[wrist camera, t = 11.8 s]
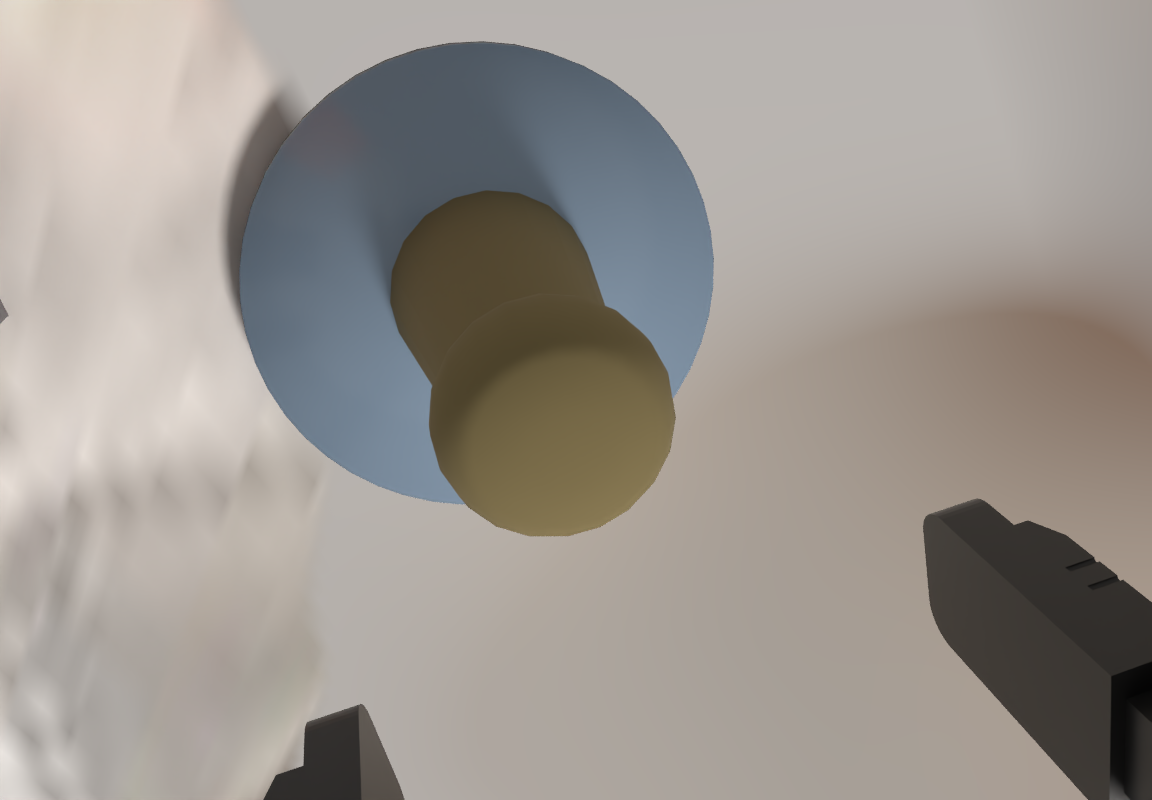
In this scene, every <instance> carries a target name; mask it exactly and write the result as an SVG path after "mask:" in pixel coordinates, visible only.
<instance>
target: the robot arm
mask: <svg viewBox="0 0 1152 800" xmlns="http://www.w3.org/2000/svg"><path fill="white" fill-rule="evenodd" d="M923 532H924V543H925V554H926V566H927V577H928V588H929V599H930V606H931V610H932V613H933V616H934V619H935V621H936V624H937V626H938V628H939V630H940V632H941V634H942V636H943V637H944V639H945V640H946V642H947V643H948V644H949V646H950V647H951V648H952V649H953V650H954V651H955V652H956V653H957V655H958V656H959V657H960V658H961V659H962V660H963V661H964V662H965V664H966V665H967V666H968V667H969V668H970V669H971V670H972V671H973V672H974V674H975V675H976V676H977V677H978V678H979V679H980V680H981V681H982V682H983V684H984V685H985V686H986V687H987V688H988V689H989V690H990V691H991V692H992V693H993V695H994V696H995V697H996V698H997V699H998V700H999V701H1000V702H1001V703H1002V705H1003V706H1004V707H1005V708H1006V709H1007V710H1008V711H1009V712H1010V714H1011V715H1012V716H1013V717H1014V718H1015V719H1016V720H1017V721H1018V722H1019V724H1020V725H1021V726H1022V727H1023V728H1024V729H1025V730H1026V731H1027V732H1028V734H1029V735H1030V736H1031V737H1032V738H1033V739H1034V740H1035V741H1036V742H1037V743H1038V745H1039V746H1040V747H1041V748H1042V749H1043V750H1044V751H1045V752H1046V754H1047V755H1048V756H1049V757H1050V758H1051V759H1052V760H1053V761H1054V762H1055V764H1056V765H1057V766H1058V767H1059V768H1060V769H1061V770H1062V771H1063V772H1064V773H1065V774H1066V776H1067V777H1068V778H1069V779H1070V780H1071V781H1072V782H1073V783H1074V785H1075V786H1076V787H1077V788H1078V789H1079V790H1080V791H1081V792H1082V793H1083V795H1084V796H1085V797H1086V798H1087V799H1088V800H1152V602H1151V601H1149V600H1148V599H1147V598H1145V597H1144V596H1143V595H1142V594H1140V593H1139V592H1138V591H1137V590H1135V589H1134V588H1133V587H1131V586H1130V585H1129V584H1128V583H1126V582H1125V581H1124V580H1122V581H1120V580H1119V579H1118V577H1117V575H1116V574H1115V573H1114V572H1112V571H1111V570H1110V569H1108V568H1107V567H1106V566H1105V565H1103V564H1102V563H1101V562H1096V561H1095V559H1094V557H1093V556H1092V555H1090V554H1089V553H1088V552H1087V551H1086V550H1084V549H1083V548H1082V547H1080V546H1079V545H1078V544H1076V543H1075V542H1074V541H1073V540H1072V539H1070V538H1069V537H1068V536H1066V535H1064V534H1061V533H1059V532H1056V531H1054V530H1051V529H1049V528H1046V527H1043V526H1041V525H1038V524H1036V523H1033V522H1030V521H1025V522H1022V523H1019V524H1016V525H1013V524H1012V523H1011V522H1010V521H1008V520H1007V519H1006V518H1005V517H1004V516H1002V515H1001V514H1000V513H999V512H997V511H996V510H995V509H994V508H992V506H990V505H989V504H988V503H986V502H985V501H983V500H981V499H974V500H971V501H967V502H965V503H962V504H959V505H956V506H953V507H950V508H947V509H944V510H941V511H938V512H935V513H932V514H929V515H927V516H926V518H925V519H924V525H923ZM264 800H404V797H403V794H402V791H401V788H400V785H399V783H398V780H397V778H396V776H395V773H394V771H393V769H392V767H391V764H390V762H389V759H388V757H387V755H386V752H385V750H384V748H383V746H382V743H381V741H380V739H379V736H378V734H377V732H376V729H375V727H374V725H373V722H372V720H371V718H370V716H369V713H368V711H367V710H366V708H365V707H364V705H362V704H360V705H357V706H354V707H351V708H348V709H345V710H342V711H339V712H336V713H333V714H330V715H327V716H324V717H321V718H318V719H315V720H312V721H309V722H307V724H306V727H305V739H304V766H302V767H299V768H296V769H293V770H290V771H287V772H284V773H281V774H278V775H276V776H275V778H274V780H273V782H272V784H271V786H270V788H269V790H268V792H267V794H266V796H265V798H264Z"/></svg>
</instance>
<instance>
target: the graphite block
mask: <svg viewBox="0 0 1152 800" xmlns="http://www.w3.org/2000/svg"><path fill="white" fill-rule="evenodd" d="M7 316H8V313H7V312H6V310H5V308H4V306H3V304H2V302H1V300H0V323H1V322H2V321H3V320H4V319H5V318H6V317H7Z"/></svg>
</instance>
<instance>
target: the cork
mask: <svg viewBox="0 0 1152 800" xmlns="http://www.w3.org/2000/svg"><path fill="white" fill-rule="evenodd" d="M390 304H391V307H392V311H393V314H394V318H395V321H396V325H397V328H398V332H399V334H400V335H401V337H402V338H403V340H404V342H405V343H406V345H407V346H408V348H409V350H410V351H411V353H412V354H413V356H414V358H415V359H416V361H417V362H418V364H419V366H420V367H421V369H422V370H423V372H424V373H425V375H426V377H427V378H428V380H429V381H430V383H431V385H432V388H431V398H430V412H429V431H430V437H431V441H432V444H433V447H434V451H435V454H436V458H437V461H438V465H439V468H440V471H441V472H442V474H443V475H444V477H445V478H446V479H447V481H448V482H449V483H450V485H451V486H452V488H453V489H454V490H455V492H456V493H457V494H458V496H459V497H460V498H461V500H462V501H463V502H464V503H465V504H466V505H467V506H468V507H469V508H470V509H472V510H473V511H475V512H476V513H477V514H479V515H480V516H482V517H483V518H485V519H486V520H488V521H489V522H491V523H492V524H494V525H495V526H496V527H500V528H504V529H507V530H510V531H513V532H517V533H520V534H524V535H527V536H570V535H574V534H577V533H581V532H584V531H588V530H591V529H595V528H598V527H601V526H603V525H604V524H606V523H607V522H609V521H611V520H613V519H614V518H616V517H617V516H619V515H621V514H622V513H624V512H625V511H627V510H629V509H630V508H631V506H632V505H633V504H634V503H635V502H636V501H637V500H638V499H639V498H640V497H641V496H642V495H643V494H644V493H645V492H646V490H647V489H648V488H649V487H650V486H651V485H652V484H653V483H654V481H655V480H656V478H657V476H658V474H659V472H660V470H661V468H662V466H663V464H664V462H665V460H666V458H667V456H668V454H669V452H670V448H671V442H672V436H673V430H674V424H675V418H676V417H675V412H674V411H675V410H674V404H673V398H672V392H671V386H670V381H669V375H668V371H667V370H666V368H665V366H664V364H663V362H662V361H661V359H660V357H659V355H658V354H657V352H656V350H655V348H654V346H653V345H652V343H651V341H650V340H649V339H648V338H647V337H646V336H645V335H644V334H643V333H642V332H641V331H640V330H639V329H637V328H636V327H635V326H634V325H633V324H632V323H630V322H629V321H628V320H627V319H626V318H625V317H624V316H622V315H621V314H620V313H619V312H618V311H617V310H614V309H612V308H609V307H607V306H605V304H604V301H603V298H602V295H601V292H600V289H599V286H598V283H597V280H596V277H595V274H594V271H593V268H592V265H591V262H590V259H589V257H588V254H587V252H586V250H585V248H584V246H583V245H582V243H581V241H580V239H579V238H578V236H577V234H576V232H575V231H574V229H573V227H572V226H571V225H570V224H569V223H568V222H567V221H566V220H565V219H563V218H562V217H561V216H560V215H559V214H558V213H557V212H555V211H554V210H553V209H552V208H551V207H550V206H549V205H547V204H544V203H542V202H539V201H537V200H535V199H532V198H530V197H528V196H525V195H523V194H520V193H515V192H502V191H490V190H485V191H481V192H477V193H472V194H468V195H464V196H460V197H456V198H453V199H451V200H450V201H448V202H446V203H445V204H443V205H442V206H440V207H438V208H437V209H435V210H433V211H432V212H430V213H429V214H427V215H425V216H424V217H423V219H422V220H421V221H420V222H419V223H418V225H417V226H416V227H415V228H414V229H413V231H412V232H411V233H410V234H409V235H408V236H407V238H406V239H405V240H404V242H403V244H402V247H401V249H400V252H399V254H398V257H397V259H396V262H395V264H394V267H393V269H392V276H391V296H390Z"/></svg>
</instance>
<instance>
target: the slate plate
mask: <svg viewBox="0 0 1152 800" xmlns="http://www.w3.org/2000/svg"><path fill="white" fill-rule="evenodd" d="M485 190H490V191H502V192H515V193H520V194H523V195H525V196H528V197H530V198H532V199H535V200H537V201H539V202H542V203H544V204H547V205H549V206H550V207H551V208H552V209H553V210H554V211H555V212H557V213H558V214H559V215H560V216H561V217H562V218H563V219H565V220H566V221H567V222H568V223H569V224H570V225H571V226H572V227H573V229H574V231H575V232H576V234H577V236H578V238H579V239H580V241H581V243H582V245H583V246H584V248H585V250H586V252H587V254H588V257H589V259H590V262H591V265H592V268H593V271H594V274H595V277H596V280H597V283H598V286H599V289H600V292H601V295H602V298H603V301H604V304H605V306H607V307H609V308H612V309H614V310H617V311H618V312H619V313H620V314H621V315H622V316H624V317H625V318H626V319H627V320H628V321H629V322H630V323H632V324H633V325H634V326H635V327H636V328H637V329H639V330H640V331H641V332H642V333H643V334H644V335H645V336H646V337H647V338H648V339H649V340H650V341H651V343H652V345H653V346H654V348H655V350H656V352H657V354H658V355H659V357H660V359H661V361H662V362H663V364H664V366H665V368H666V370H667V371H668V375H669V381H670V386H671V392H672V398H673V397H674V396H675V395H676V393H677V391H678V390H679V388H680V386H681V384H682V383H683V381H684V379H685V377H686V375H687V374H688V372H689V370H690V368H691V366H692V364H693V361H694V359H695V356H696V354H697V351H698V349H699V347H700V344H701V342H702V338H703V334H704V331H705V327H706V324H707V320H708V317H709V311H710V304H711V297H712V291H713V262H714V261H713V260H714V258H713V249H712V240H711V231H710V226H709V222H708V218H707V214H706V210H705V206H704V202H703V199H702V197H701V194H700V191H699V189H698V186H697V184H696V181H695V179H694V176H693V174H692V172H691V170H690V168H689V166H688V165H687V163H686V161H685V159H684V158H683V156H682V154H681V152H680V151H679V149H678V147H677V146H676V144H675V143H674V142H673V140H672V139H671V138H670V136H669V135H668V134H667V132H666V131H665V130H664V128H663V127H662V126H661V124H660V123H659V122H658V121H657V120H656V119H655V118H654V117H653V116H652V115H651V114H650V113H649V112H648V111H647V110H646V109H645V108H644V107H643V106H642V105H641V104H640V103H639V102H638V101H637V100H636V99H634V98H633V97H632V96H630V95H629V94H628V93H626V92H625V91H624V90H622V89H621V88H620V87H618V86H617V85H616V84H614V83H613V82H612V81H610V80H608V79H606V78H604V77H602V76H601V75H599V74H597V73H595V72H594V71H592V70H590V69H588V68H586V67H584V66H582V65H580V64H577V63H575V62H572V61H569V60H567V59H564V58H562V57H559V56H556V55H554V54H551V53H549V52H545V51H541V50H537V49H533V48H528V47H524V46H520V45H515V44H504V43H494V42H493V43H492V42H463V43H448V44H442V45H437V46H432V47H427V48H421V49H416V50H414V51H411V52H408V53H405V54H402V55H399V56H396V57H393V58H391V59H387V60H385V61H383V62H381V63H379V64H377V65H375V66H373V67H371V68H369V69H367V70H365V71H363V72H361V73H359V74H357V75H355V76H354V77H352V78H351V79H349V80H348V81H346V82H345V83H344V84H342V85H341V86H339V87H338V88H336V89H335V90H334V91H332V92H331V93H329V94H328V95H327V96H326V97H325V98H324V99H323V100H322V101H320V102H319V103H318V104H317V105H316V106H315V107H314V108H313V109H312V110H311V111H310V112H308V113H307V114H306V115H305V116H304V117H303V118H302V120H301V121H300V122H299V123H298V125H297V126H296V127H295V128H294V130H293V131H292V132H291V133H290V135H289V136H288V137H287V138H286V139H285V141H284V142H283V143H282V145H281V147H280V148H279V150H278V152H277V153H276V155H275V157H274V159H273V160H272V162H271V164H270V165H269V167H268V169H267V170H266V173H265V175H264V177H263V180H262V182H261V185H260V187H259V189H258V192H257V194H256V197H255V199H254V201H253V204H252V206H251V210H250V213H249V217H248V221H247V225H246V229H245V233H244V237H243V242H242V251H241V260H240V269H239V277H240V304H241V309H242V315H243V321H244V326H245V332H246V336H247V339H248V342H249V345H250V348H251V351H252V354H253V357H254V360H255V363H256V365H257V367H258V369H259V371H260V374H261V376H262V378H263V380H264V382H265V384H266V386H267V388H268V390H269V392H270V393H271V394H272V396H273V397H274V399H275V400H276V402H277V403H278V405H279V406H280V408H281V409H282V411H283V412H284V414H285V415H286V416H287V418H288V419H289V420H290V421H291V422H292V423H293V424H294V426H295V427H296V428H297V429H298V430H299V431H300V432H301V433H302V435H303V436H304V437H305V438H306V439H307V440H309V441H310V442H311V443H312V444H313V445H314V446H315V447H317V448H318V449H319V450H320V451H321V452H322V453H323V454H325V455H326V456H327V457H328V458H330V459H331V460H333V461H334V462H336V463H337V464H339V465H340V466H342V467H343V468H345V469H346V470H348V471H349V472H351V473H353V474H355V475H357V476H359V477H361V478H363V479H365V480H367V481H369V482H371V483H373V484H375V485H377V486H380V487H382V488H385V489H388V490H391V491H394V492H397V493H399V494H402V495H406V496H411V497H415V498H419V499H424V500H428V501H433V502H443V503H453V504H465V503H464V502H463V501H462V500H461V498H460V497H459V496H458V494H457V493H456V492H455V490H454V489H453V488H452V486H451V485H450V483H449V482H448V481H447V479H446V478H445V477H444V475H443V474H442V472H441V471H440V468H439V465H438V461H437V458H436V454H435V451H434V447H433V444H432V441H431V437H430V431H429V412H430V398H431V388H432V385H431V383H430V381H429V380H428V378H427V377H426V375H425V373H424V372H423V370H422V369H421V367H420V366H419V364H418V362H417V361H416V359H415V358H414V356H413V354H412V353H411V351H410V350H409V348H408V346H407V345H406V343H405V342H404V340H403V338H402V337H401V335H400V334H399V332H398V328H397V325H396V321H395V318H394V314H393V311H392V307H391V304H390V296H391V276H392V269H393V267H394V264H395V262H396V259H397V257H398V254H399V252H400V249H401V247H402V244H403V242H404V240H405V239H406V238H407V236H408V235H409V234H410V233H411V232H412V231H413V229H414V228H415V227H416V226H417V225H418V223H419V222H420V221H421V220H422V219H423V217H424V216H425V215H427V214H429V213H430V212H432V211H433V210H435V209H437V208H438V207H440V206H442V205H443V204H445V203H446V202H448V201H450V200H451V199H453V198H456V197H460V196H464V195H468V194H472V193H477V192H481V191H485Z"/></svg>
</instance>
